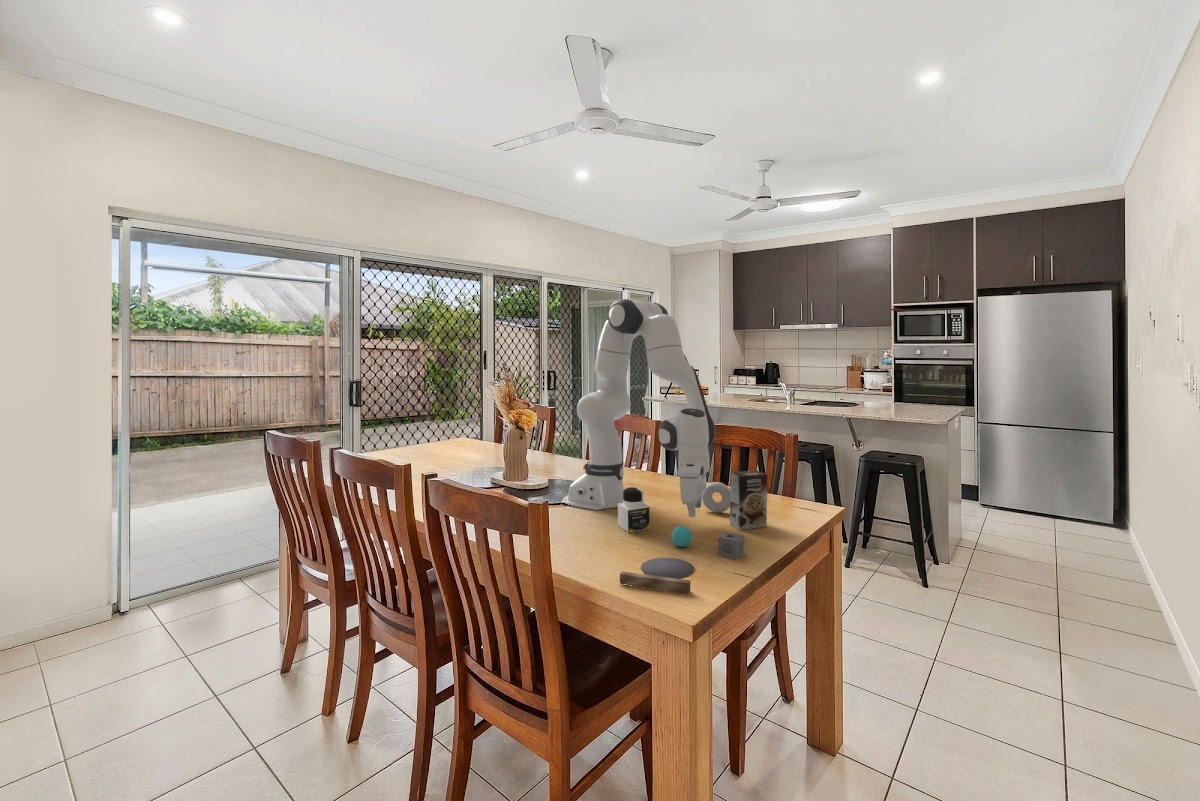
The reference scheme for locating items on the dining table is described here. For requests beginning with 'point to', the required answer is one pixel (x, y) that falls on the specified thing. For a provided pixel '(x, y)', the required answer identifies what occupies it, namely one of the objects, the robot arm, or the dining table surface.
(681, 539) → the ball
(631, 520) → the medicine bottle
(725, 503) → the donut
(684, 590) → the stopper strip
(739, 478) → the cookie box
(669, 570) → the disc
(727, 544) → the gray cube
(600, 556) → the dining table surface
